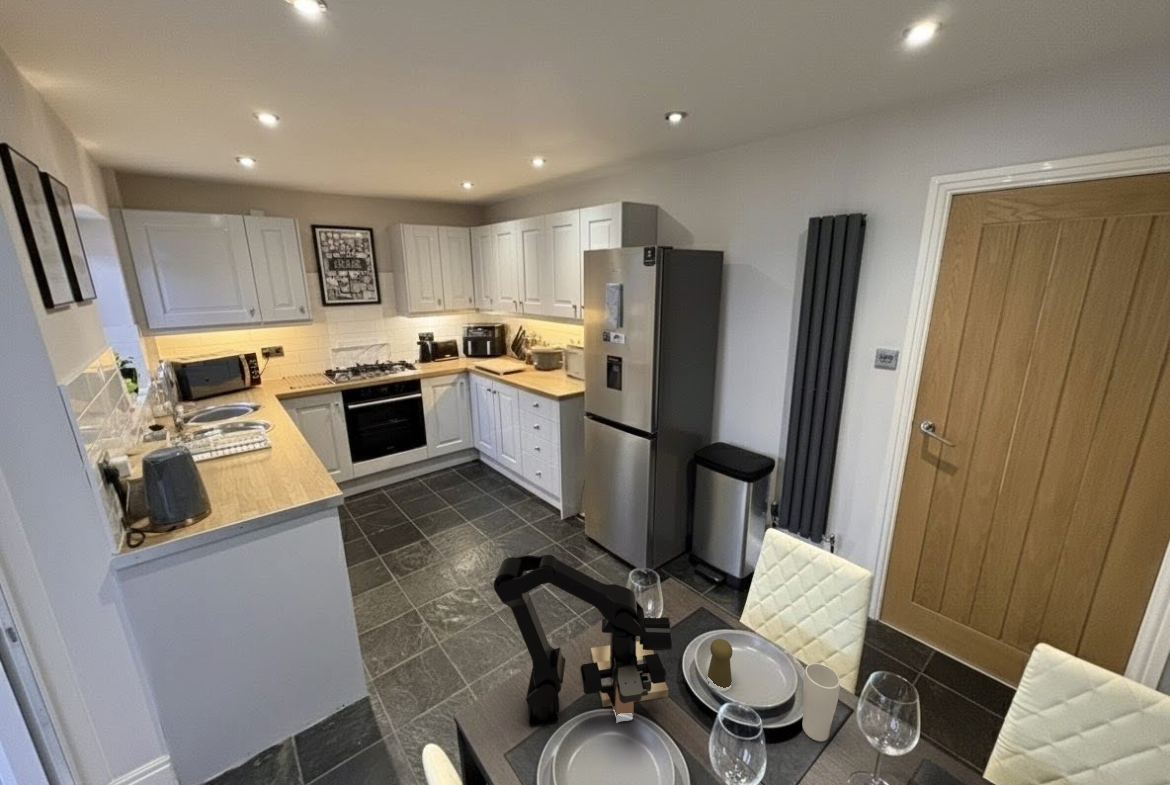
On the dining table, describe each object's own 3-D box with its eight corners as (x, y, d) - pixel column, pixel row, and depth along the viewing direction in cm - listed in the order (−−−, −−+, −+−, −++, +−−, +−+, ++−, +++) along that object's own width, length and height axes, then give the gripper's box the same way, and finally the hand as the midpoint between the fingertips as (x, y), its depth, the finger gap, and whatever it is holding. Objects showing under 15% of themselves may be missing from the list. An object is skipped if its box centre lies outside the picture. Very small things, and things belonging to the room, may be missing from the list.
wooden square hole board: (602, 707, 108) (602, 700, 108) (590, 654, 123) (590, 648, 123) (668, 696, 111) (668, 689, 110) (648, 646, 126) (648, 639, 125)
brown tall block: (616, 723, 103) (616, 686, 101) (612, 707, 107) (612, 672, 105) (633, 720, 104) (633, 684, 102) (628, 704, 108) (629, 669, 106)
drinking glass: (831, 752, 97) (839, 694, 94) (796, 736, 101) (802, 679, 97) (833, 726, 103) (841, 670, 99) (800, 712, 106) (807, 657, 103)
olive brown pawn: (733, 693, 111) (736, 655, 109) (707, 689, 112) (709, 651, 110) (730, 673, 117) (733, 636, 114) (706, 669, 118) (708, 633, 116)
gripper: (587, 682, 92) (588, 744, 96) (676, 668, 95) (674, 729, 99) (579, 640, 103) (580, 697, 106) (659, 629, 106) (657, 685, 109)
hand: (622, 703), depth 105 cm, fingers closed on brown tall block, 4 cm apart
